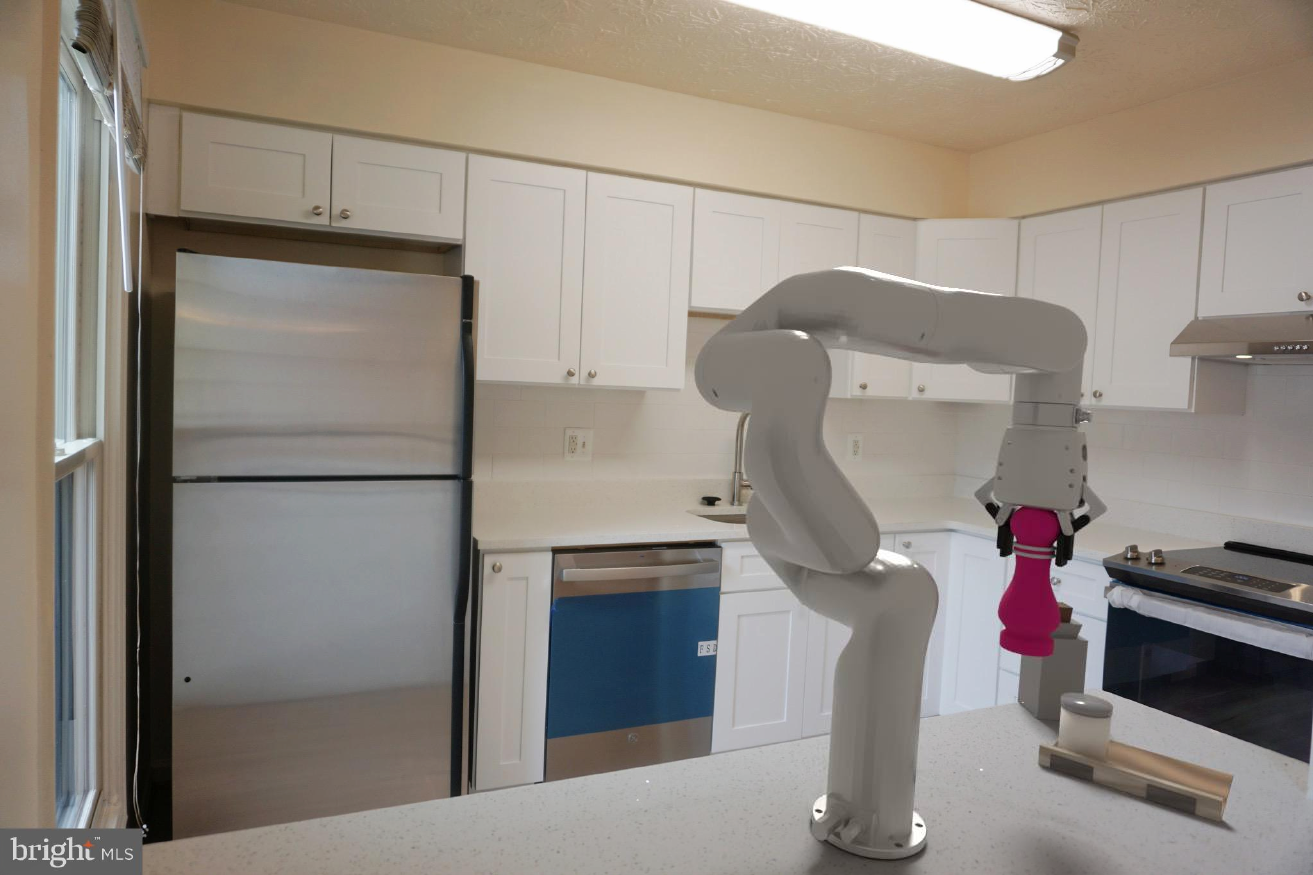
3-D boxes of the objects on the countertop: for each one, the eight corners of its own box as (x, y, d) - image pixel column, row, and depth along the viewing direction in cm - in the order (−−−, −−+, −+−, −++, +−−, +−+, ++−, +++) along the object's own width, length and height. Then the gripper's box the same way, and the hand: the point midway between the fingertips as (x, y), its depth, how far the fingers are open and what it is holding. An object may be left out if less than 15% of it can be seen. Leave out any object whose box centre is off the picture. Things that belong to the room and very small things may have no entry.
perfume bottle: (1080, 727, 121) (1090, 611, 120) (1036, 724, 121) (1045, 609, 120) (1059, 709, 128) (1068, 599, 127) (1017, 707, 128) (1025, 597, 127)
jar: (1102, 774, 104) (1107, 714, 103) (1051, 758, 108) (1055, 700, 107) (1112, 759, 108) (1117, 702, 108) (1062, 744, 112) (1067, 689, 112)
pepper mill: (1065, 661, 97) (1079, 498, 96) (1002, 654, 98) (1015, 494, 97) (1048, 643, 104) (1061, 492, 103) (989, 637, 105) (1001, 487, 104)
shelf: (1219, 830, 93) (1222, 801, 93) (1036, 771, 106) (1039, 745, 106) (1232, 782, 105) (1235, 757, 105) (1067, 734, 118) (1069, 711, 118)
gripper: (1129, 423, 96) (1116, 569, 98) (984, 414, 108) (973, 545, 109) (1116, 422, 91) (1102, 578, 92) (964, 413, 102) (953, 552, 103)
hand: (1033, 559), depth 100 cm, fingers closed on pepper mill, 5 cm apart
